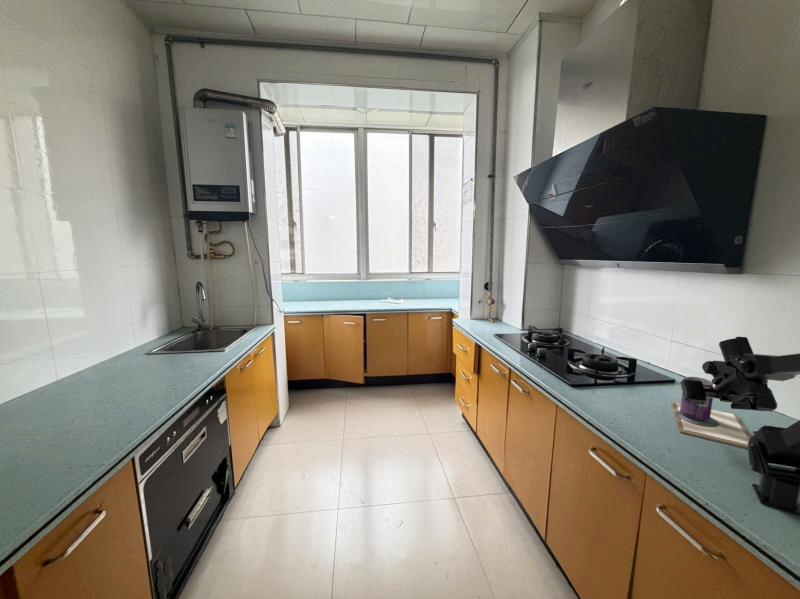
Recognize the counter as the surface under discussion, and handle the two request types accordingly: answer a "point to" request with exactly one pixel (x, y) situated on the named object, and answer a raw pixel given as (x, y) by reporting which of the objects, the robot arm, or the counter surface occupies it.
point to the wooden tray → (714, 427)
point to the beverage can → (698, 409)
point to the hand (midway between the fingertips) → (711, 404)
